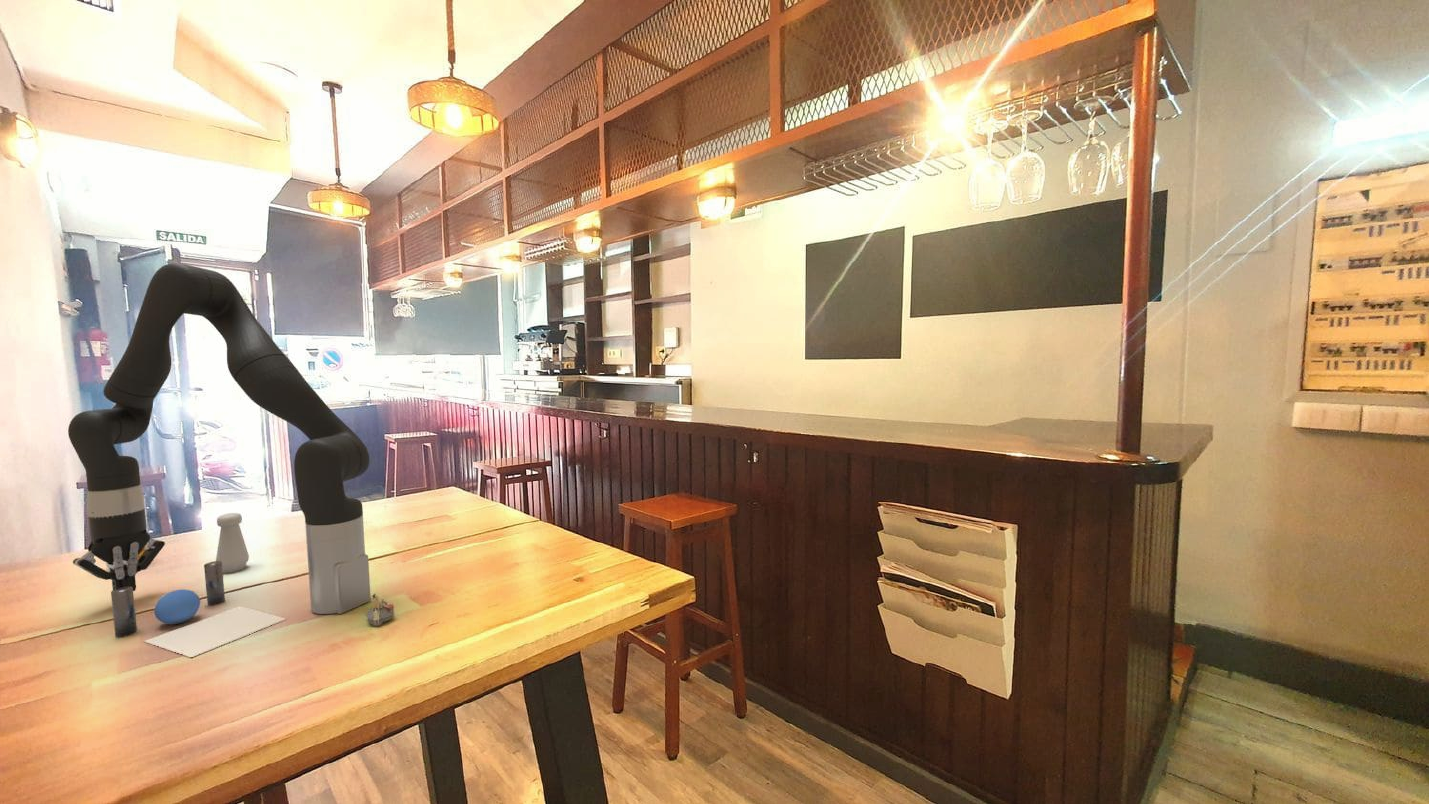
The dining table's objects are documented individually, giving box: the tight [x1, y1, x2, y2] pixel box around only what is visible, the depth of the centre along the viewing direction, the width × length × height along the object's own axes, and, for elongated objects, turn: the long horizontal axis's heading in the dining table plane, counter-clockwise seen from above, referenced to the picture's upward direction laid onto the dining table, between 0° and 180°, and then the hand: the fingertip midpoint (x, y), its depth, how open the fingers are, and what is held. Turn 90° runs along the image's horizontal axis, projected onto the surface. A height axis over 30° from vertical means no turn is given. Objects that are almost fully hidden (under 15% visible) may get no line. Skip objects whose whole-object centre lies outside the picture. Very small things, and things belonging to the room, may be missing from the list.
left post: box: [110, 587, 138, 638], centre depth 96 cm, size 3×3×8 cm
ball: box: [154, 588, 201, 625], centre depth 100 cm, size 6×6×6 cm
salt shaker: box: [215, 512, 250, 574], centre depth 125 cm, size 6×6×13 cm
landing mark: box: [143, 605, 287, 658], centre depth 97 cm, size 14×14×1 cm
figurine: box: [365, 593, 395, 627], centre depth 100 cm, size 5×4×6 cm
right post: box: [203, 560, 226, 606], centre depth 108 cm, size 3×3×8 cm
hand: (125, 595), depth 109 cm, fingers closed
